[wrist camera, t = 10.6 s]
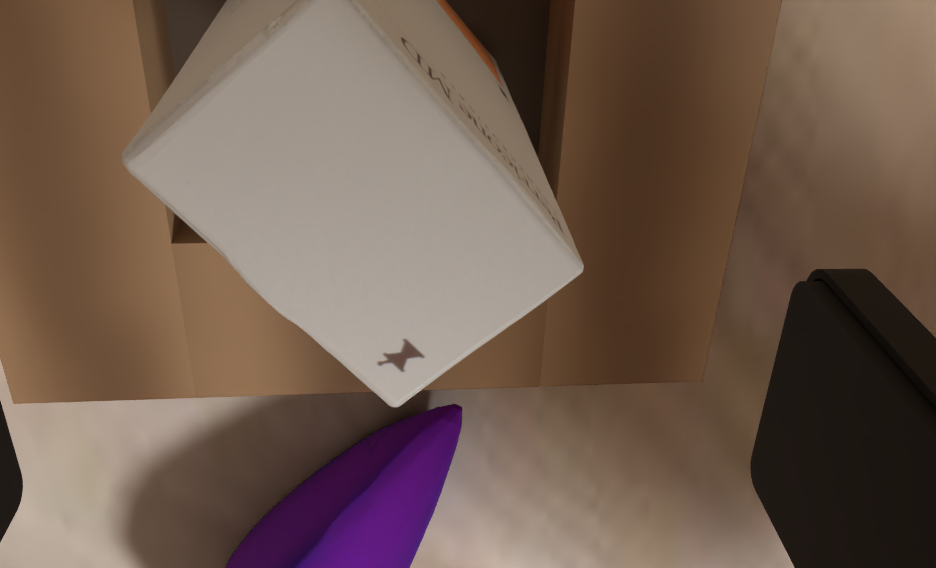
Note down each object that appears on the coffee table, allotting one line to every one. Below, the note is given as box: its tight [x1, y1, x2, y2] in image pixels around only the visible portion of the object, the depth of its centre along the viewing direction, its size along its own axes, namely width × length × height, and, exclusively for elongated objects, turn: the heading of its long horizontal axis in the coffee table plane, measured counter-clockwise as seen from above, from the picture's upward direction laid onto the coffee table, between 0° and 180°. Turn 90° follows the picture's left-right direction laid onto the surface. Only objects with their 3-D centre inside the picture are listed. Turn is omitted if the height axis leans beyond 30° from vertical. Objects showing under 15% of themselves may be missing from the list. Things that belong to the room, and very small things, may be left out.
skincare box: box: [122, 0, 584, 407], centre depth 18 cm, size 6×4×12 cm
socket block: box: [0, 0, 782, 404], centre depth 22 cm, size 20×20×4 cm
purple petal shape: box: [225, 404, 462, 568], centre depth 31 cm, size 5×5×15 cm
